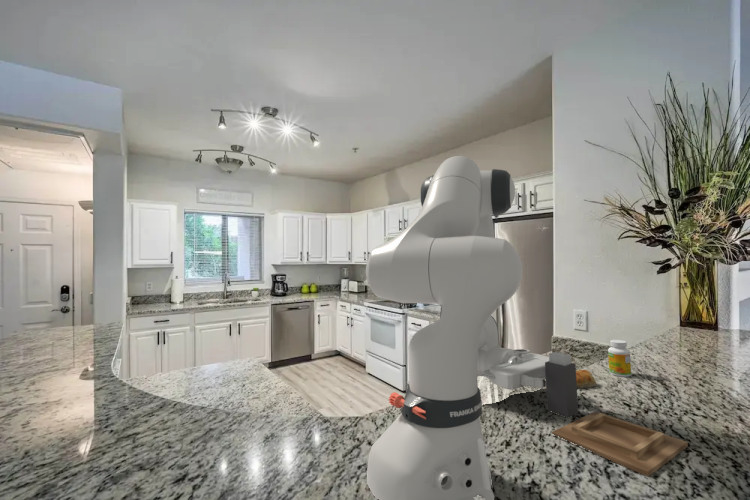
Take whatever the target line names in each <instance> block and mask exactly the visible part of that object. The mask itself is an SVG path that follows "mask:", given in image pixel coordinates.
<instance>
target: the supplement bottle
mask: <svg viewBox="0 0 750 500" xmlns="http://www.w3.org/2000/svg"><path fill="white" fill-rule="evenodd" d="M609 342H610V343H609V345H610V347H608V349H607V354H608V356H607V357H608V372H609V374H611V375H612V376H615V377H623V378H629V377H631V376H632V364H631V363H632V362H631V352H630V350H629V349H628V348H627V341H626V340H621V339H611V340H610V341H609Z"/></svg>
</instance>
